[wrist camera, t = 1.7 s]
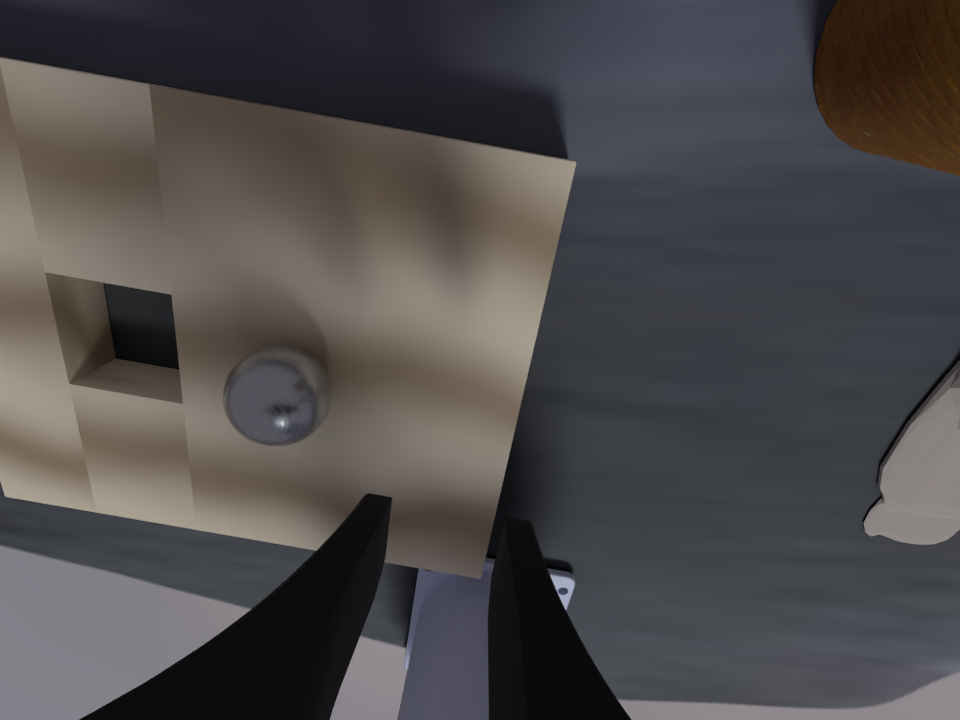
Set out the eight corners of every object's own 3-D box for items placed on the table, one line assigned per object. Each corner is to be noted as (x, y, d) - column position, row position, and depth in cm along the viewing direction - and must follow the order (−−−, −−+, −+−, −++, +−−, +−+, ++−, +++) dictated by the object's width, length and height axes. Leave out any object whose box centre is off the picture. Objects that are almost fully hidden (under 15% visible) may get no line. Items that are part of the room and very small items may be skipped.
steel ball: (342, 420, 19) (308, 475, 16) (255, 404, 19) (204, 457, 16) (347, 339, 18) (311, 382, 15) (252, 322, 18) (195, 362, 15)
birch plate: (483, 538, 25) (480, 578, 22) (52, 463, 24) (5, 496, 22) (568, 159, 17) (576, 161, 15) (-52, 47, 17) (-140, 32, 15)
